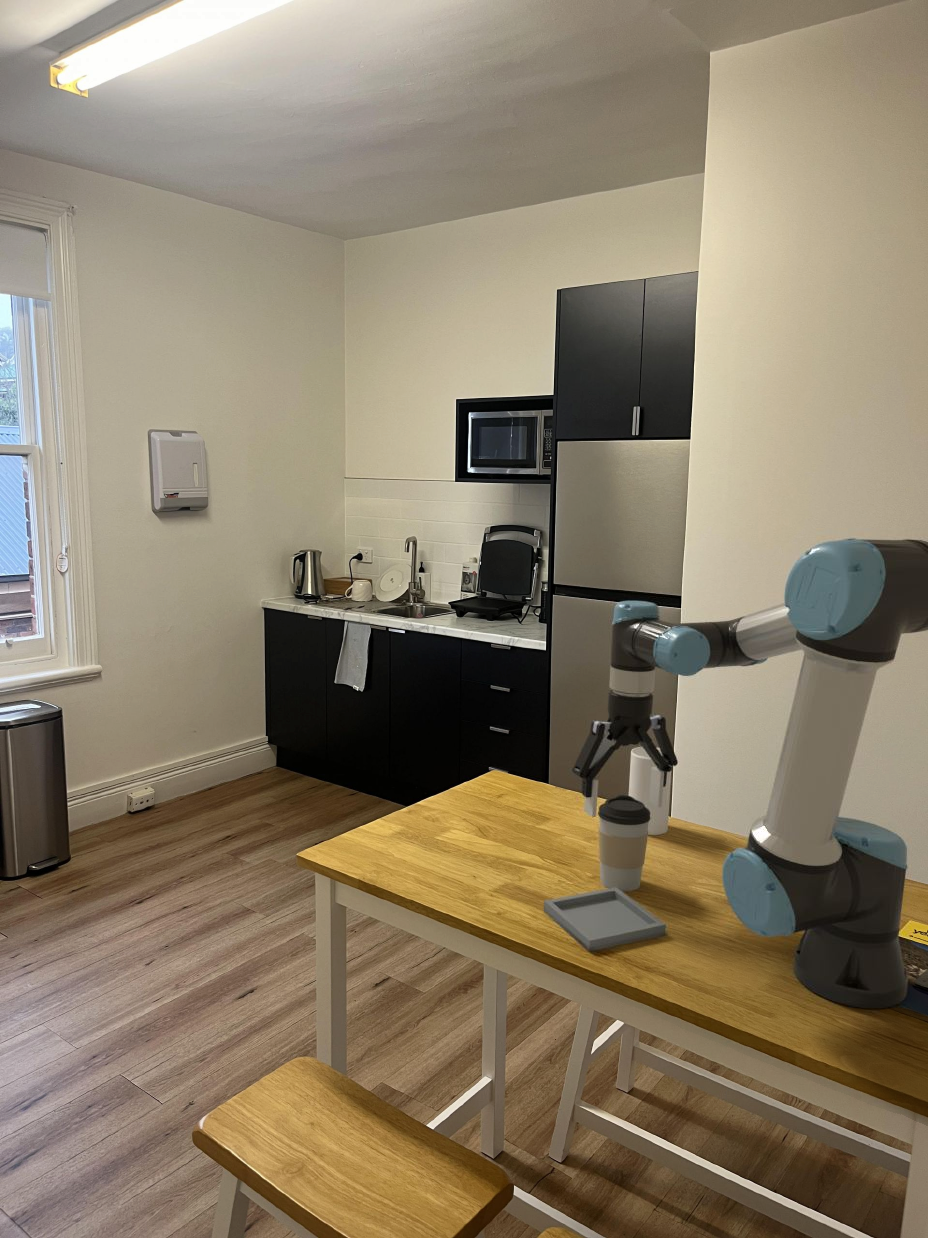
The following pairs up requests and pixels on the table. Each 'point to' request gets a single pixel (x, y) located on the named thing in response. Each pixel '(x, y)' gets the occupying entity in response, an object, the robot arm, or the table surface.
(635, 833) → the coffee cup
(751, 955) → the table surface
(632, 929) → the tray
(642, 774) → the cup
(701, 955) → the table surface
